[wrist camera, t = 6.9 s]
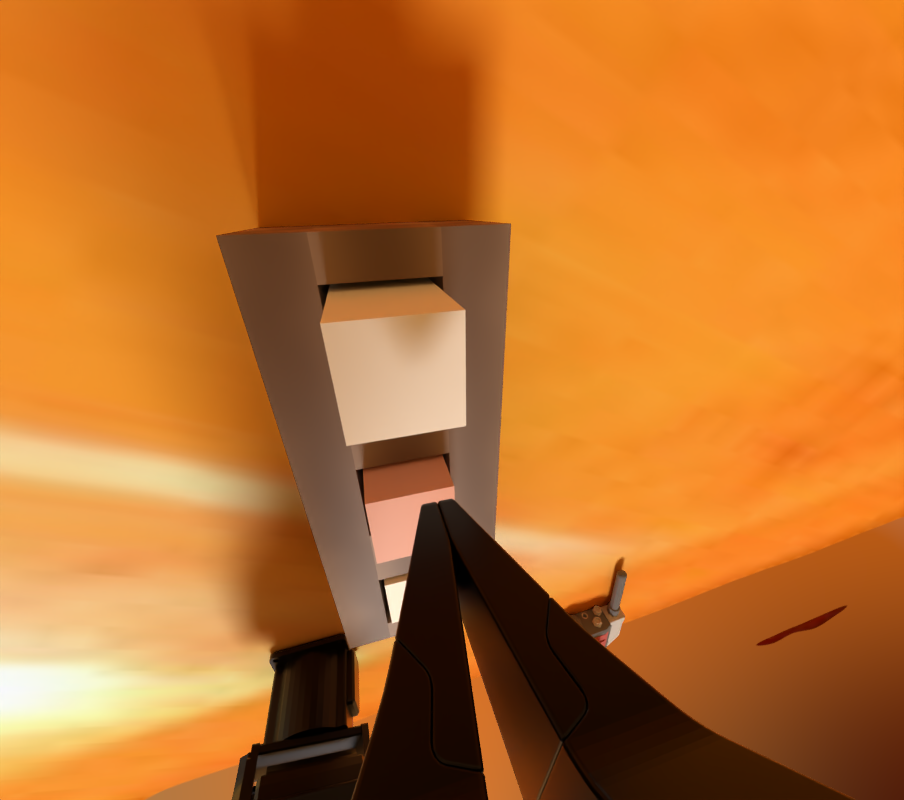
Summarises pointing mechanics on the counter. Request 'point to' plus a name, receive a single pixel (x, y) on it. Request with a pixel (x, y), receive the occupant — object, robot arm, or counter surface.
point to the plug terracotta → (402, 501)
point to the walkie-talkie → (605, 615)
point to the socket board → (312, 392)
